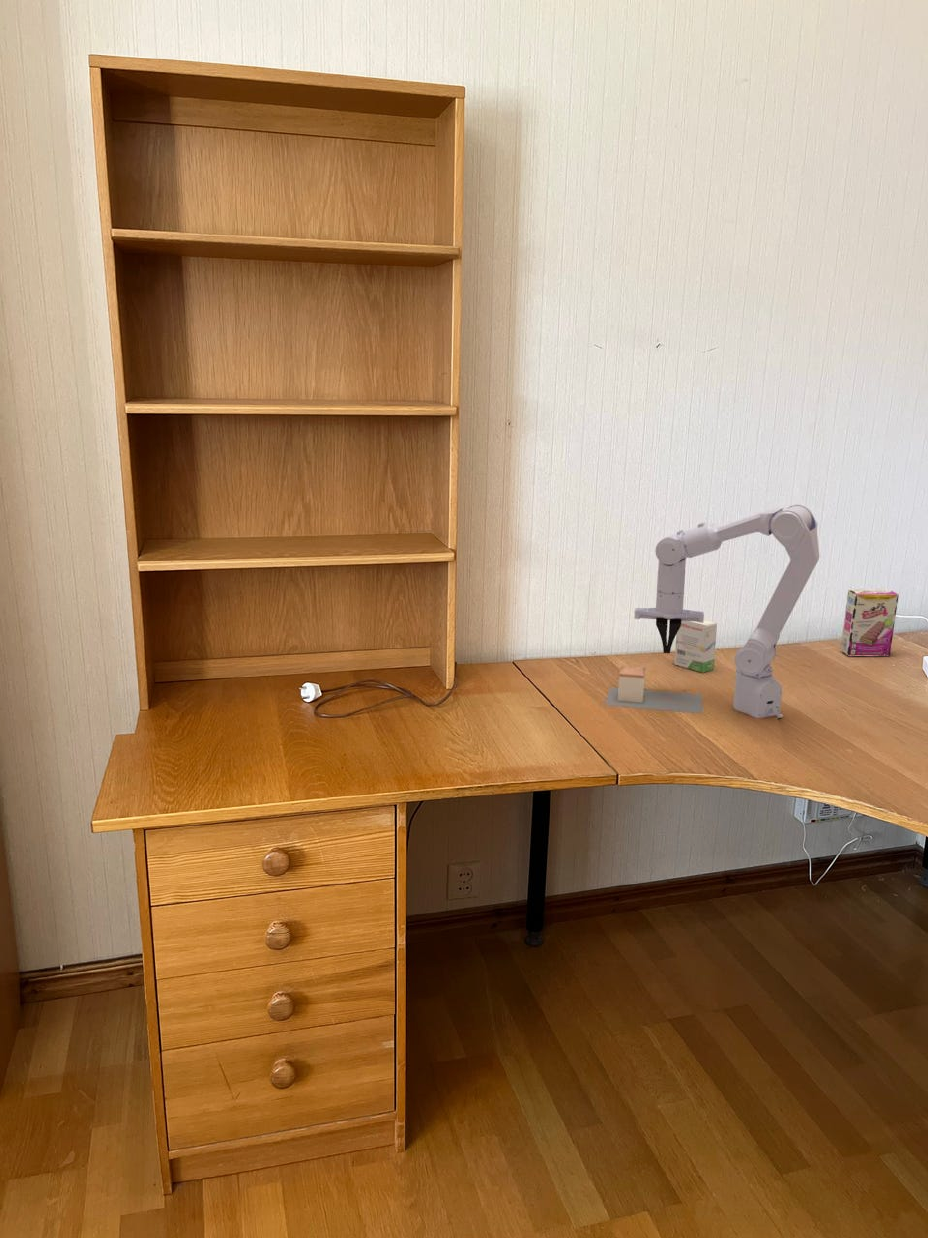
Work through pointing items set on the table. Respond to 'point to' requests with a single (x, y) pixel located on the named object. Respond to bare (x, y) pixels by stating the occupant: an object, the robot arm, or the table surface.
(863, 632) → the candy bar box
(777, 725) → the table surface
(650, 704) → the board
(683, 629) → the ink box
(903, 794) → the table surface
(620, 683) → the peach bevelled cube
